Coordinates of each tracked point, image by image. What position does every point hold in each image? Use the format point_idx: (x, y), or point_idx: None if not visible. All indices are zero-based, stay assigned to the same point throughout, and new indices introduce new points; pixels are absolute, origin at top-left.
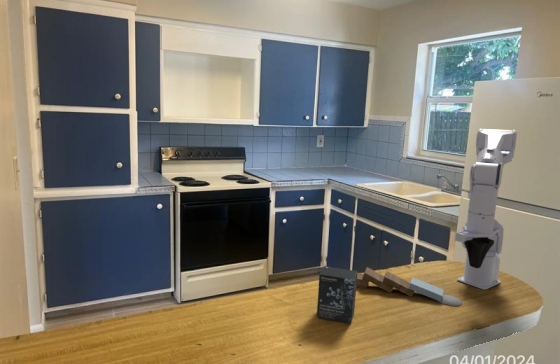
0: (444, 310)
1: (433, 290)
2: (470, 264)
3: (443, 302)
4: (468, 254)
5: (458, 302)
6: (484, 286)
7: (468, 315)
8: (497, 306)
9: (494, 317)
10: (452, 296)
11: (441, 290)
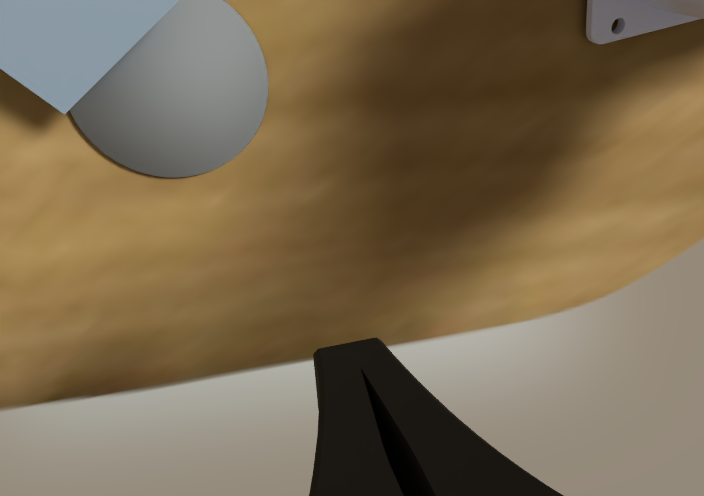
0: (11, 201)
1: (13, 20)
2: (316, 373)
3: (83, 109)
4: (318, 462)
5: (212, 146)
6: (631, 13)
7: (144, 291)
8: (427, 245)
9: (284, 336)
10: (249, 44)
11: (136, 17)
